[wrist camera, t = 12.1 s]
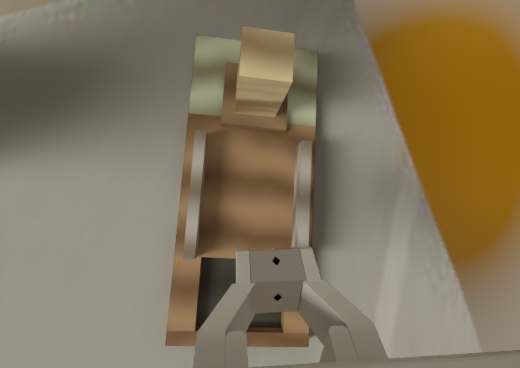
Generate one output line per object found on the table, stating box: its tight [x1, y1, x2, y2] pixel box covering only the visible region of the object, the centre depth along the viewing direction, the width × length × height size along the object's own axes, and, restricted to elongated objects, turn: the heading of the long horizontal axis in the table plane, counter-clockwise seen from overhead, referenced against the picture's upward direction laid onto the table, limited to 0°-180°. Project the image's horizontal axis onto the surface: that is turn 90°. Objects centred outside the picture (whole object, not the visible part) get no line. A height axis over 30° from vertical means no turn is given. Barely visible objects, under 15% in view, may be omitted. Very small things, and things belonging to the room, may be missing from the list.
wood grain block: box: [221, 26, 295, 132], centre depth 33 cm, size 8×8×10 cm
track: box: [165, 35, 318, 347], centre depth 36 cm, size 37×16×5 cm, turn 177°
